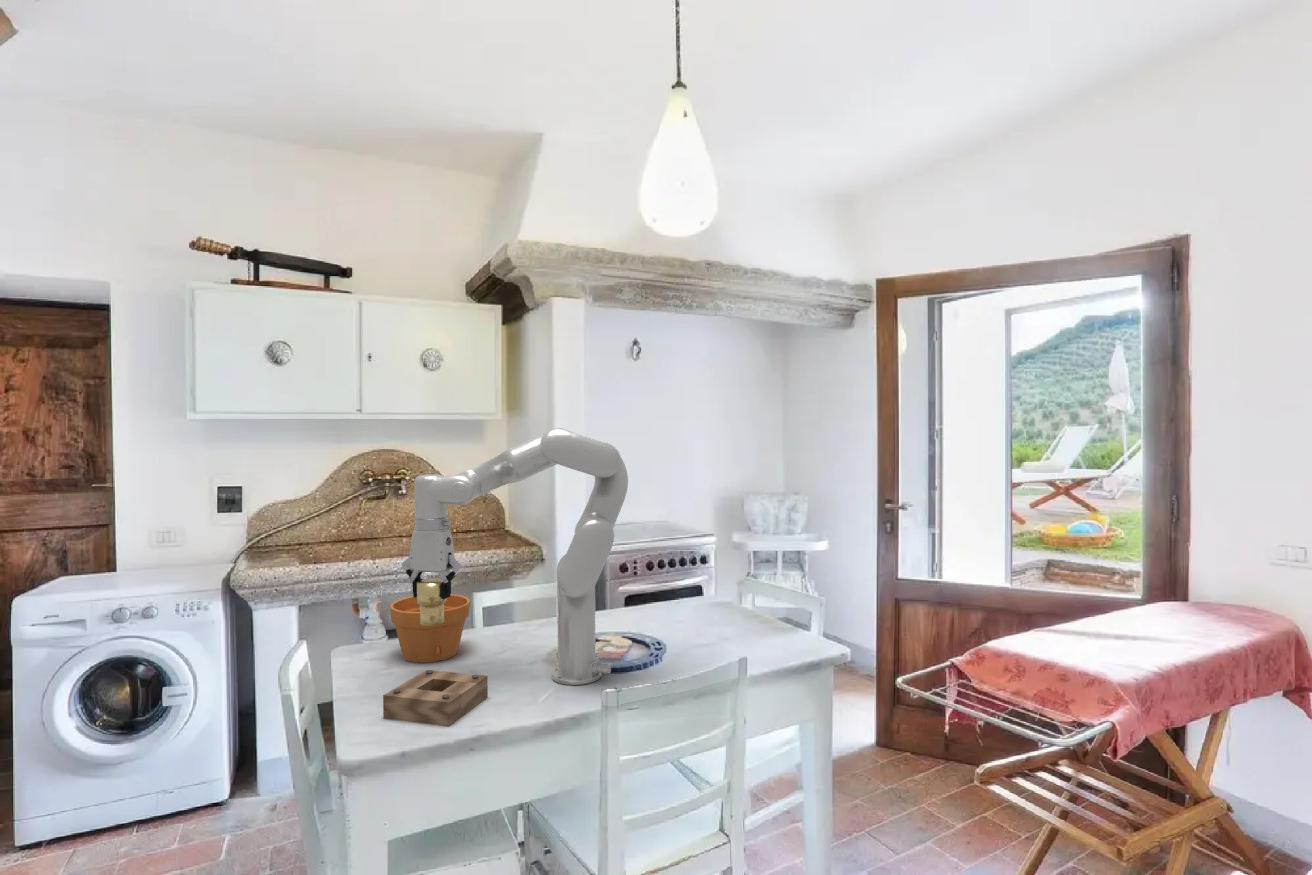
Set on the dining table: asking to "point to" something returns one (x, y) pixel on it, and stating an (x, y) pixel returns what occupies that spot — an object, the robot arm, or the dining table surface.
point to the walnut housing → (435, 697)
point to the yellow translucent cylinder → (430, 601)
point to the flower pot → (429, 629)
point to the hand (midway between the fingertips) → (431, 596)
